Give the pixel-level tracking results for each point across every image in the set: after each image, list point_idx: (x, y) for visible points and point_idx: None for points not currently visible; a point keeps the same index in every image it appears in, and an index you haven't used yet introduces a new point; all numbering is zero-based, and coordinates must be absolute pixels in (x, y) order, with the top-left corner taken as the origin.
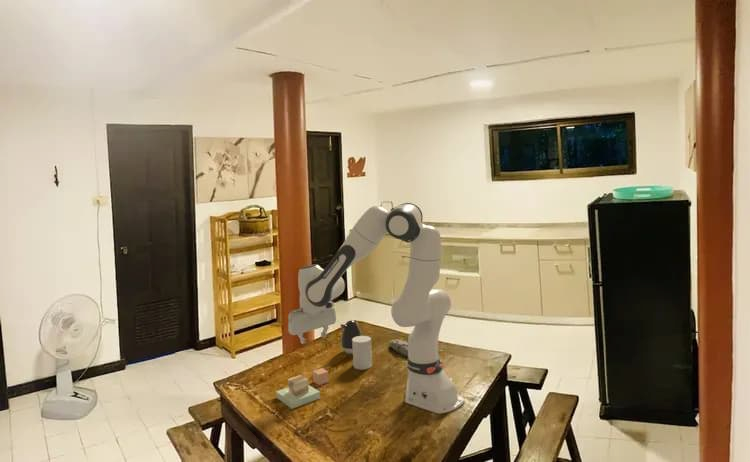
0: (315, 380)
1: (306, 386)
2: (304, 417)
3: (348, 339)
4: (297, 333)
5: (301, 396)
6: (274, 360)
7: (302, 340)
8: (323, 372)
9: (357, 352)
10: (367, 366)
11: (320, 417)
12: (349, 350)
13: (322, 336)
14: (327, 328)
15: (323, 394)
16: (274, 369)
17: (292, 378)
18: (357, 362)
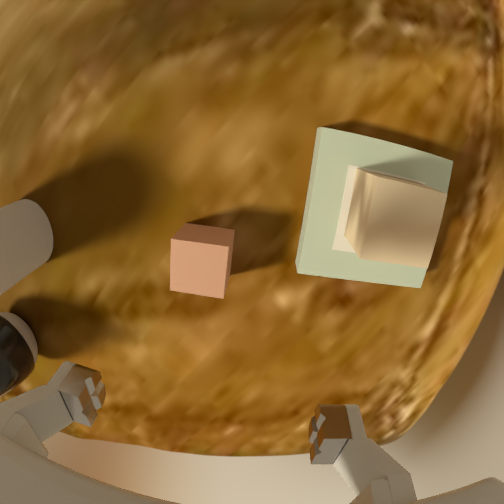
0: (230, 263)
1: (376, 174)
2: (446, 74)
3: (3, 354)
4: (473, 493)
5: (402, 163)
6: (221, 454)
7: (362, 433)
8: (195, 247)
9: (5, 245)
10: (23, 201)
11: (410, 26)
12: (24, 331)
13: (96, 386)
14: (10, 406)
15: (283, 143)
16: (259, 427)
17: (412, 256)
18: (34, 232)
